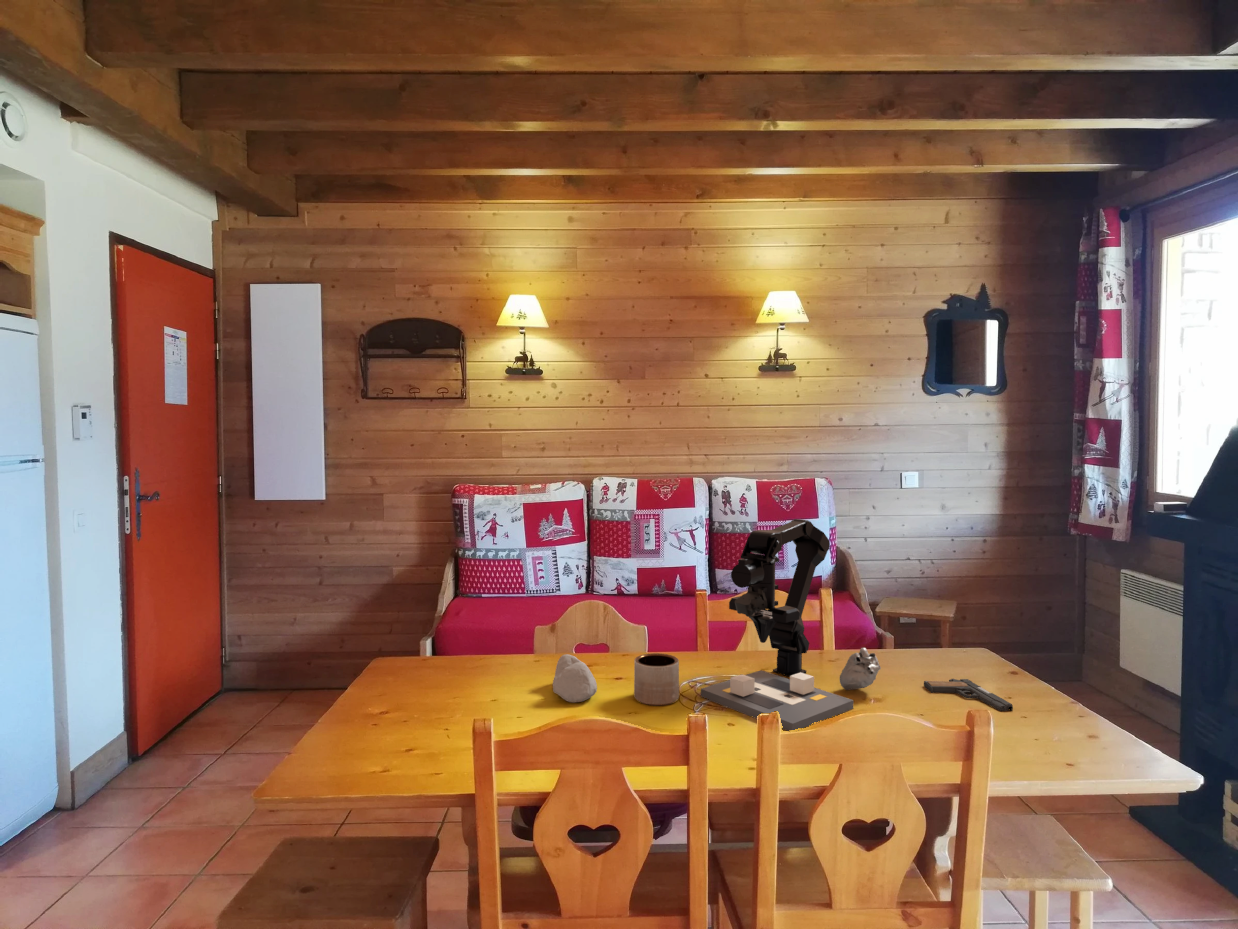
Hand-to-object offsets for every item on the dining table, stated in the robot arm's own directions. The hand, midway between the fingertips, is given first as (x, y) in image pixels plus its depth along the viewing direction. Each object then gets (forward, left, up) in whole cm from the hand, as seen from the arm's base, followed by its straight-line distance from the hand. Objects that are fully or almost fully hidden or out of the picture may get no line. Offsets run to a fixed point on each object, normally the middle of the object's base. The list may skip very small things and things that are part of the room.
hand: (763, 642), depth 198 cm
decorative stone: (+41, -26, -11) cm, 50 cm away
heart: (-15, +18, -11) cm, 26 cm away
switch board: (+7, +10, -11) cm, 16 cm away
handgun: (-31, +37, -12) cm, 50 cm away
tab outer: (+13, +5, -9) cm, 16 cm away
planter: (+27, -10, -11) cm, 31 cm away
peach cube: (+1, +13, -9) cm, 16 cm away
